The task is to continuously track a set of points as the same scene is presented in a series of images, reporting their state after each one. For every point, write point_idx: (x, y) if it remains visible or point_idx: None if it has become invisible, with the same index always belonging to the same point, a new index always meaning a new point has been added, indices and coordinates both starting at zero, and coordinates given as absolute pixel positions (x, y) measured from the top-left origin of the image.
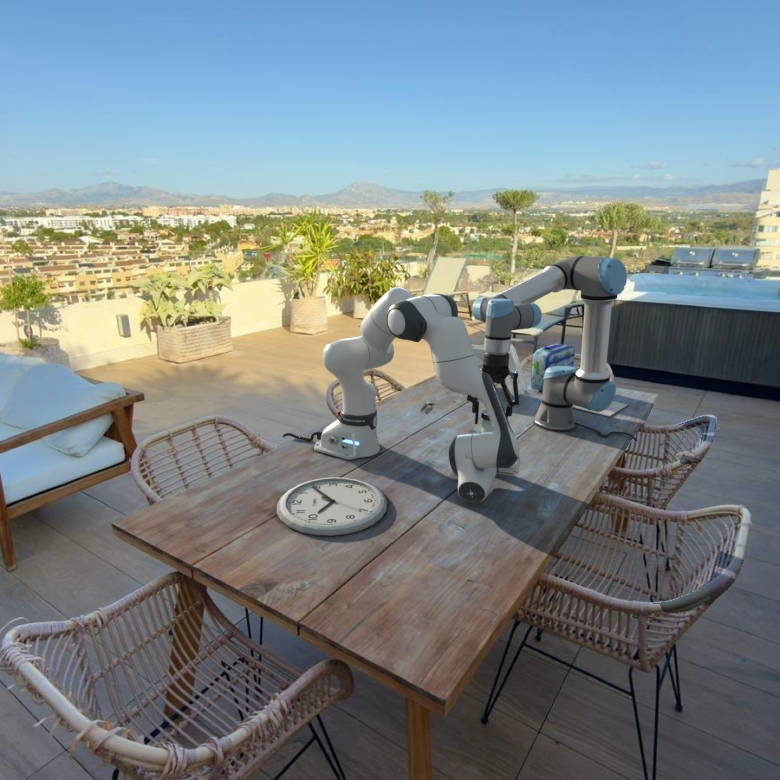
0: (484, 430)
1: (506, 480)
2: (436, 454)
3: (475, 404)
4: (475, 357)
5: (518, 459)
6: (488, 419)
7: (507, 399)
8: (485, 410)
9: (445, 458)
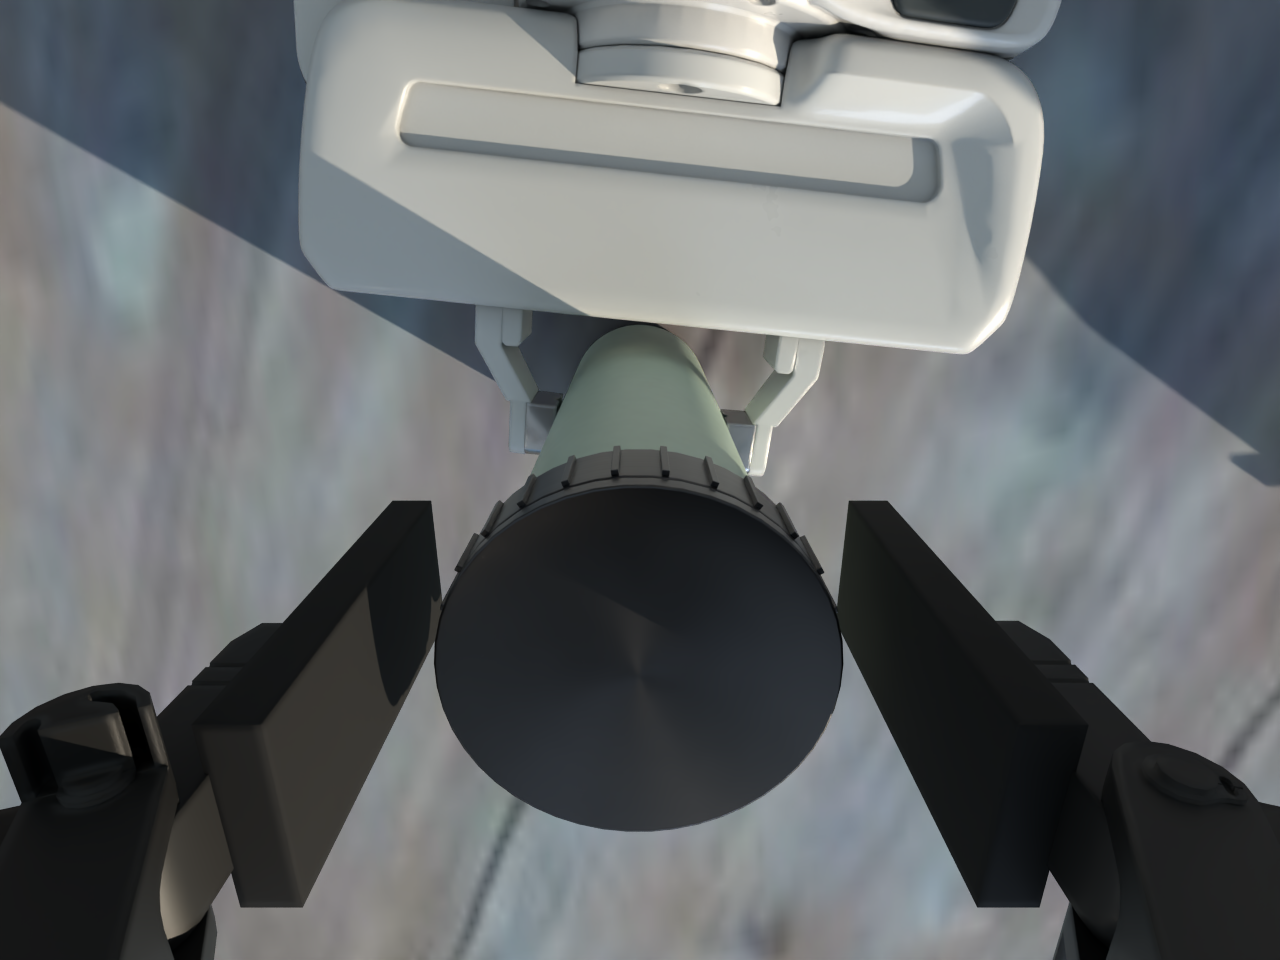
0: (721, 443)
1: None
2: (1026, 553)
3: (1077, 748)
4: None
5: (304, 185)
6: (689, 460)
7: (85, 936)
8: (767, 746)
9: (959, 504)
